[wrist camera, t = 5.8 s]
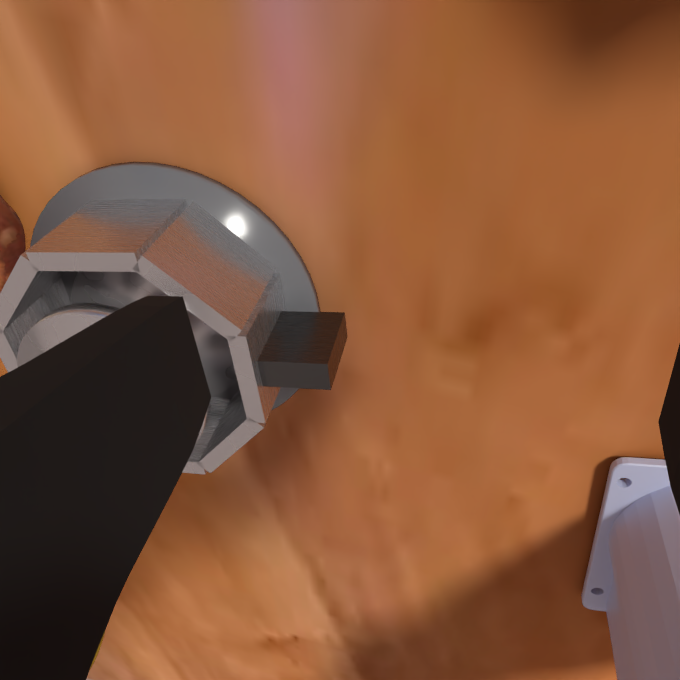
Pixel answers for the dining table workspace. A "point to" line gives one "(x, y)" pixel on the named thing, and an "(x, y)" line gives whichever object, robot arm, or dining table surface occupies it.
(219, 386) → the silver rounded piece
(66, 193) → the round metal disc
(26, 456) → the robot arm
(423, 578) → the dining table surface
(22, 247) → the slice of bread
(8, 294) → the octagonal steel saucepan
